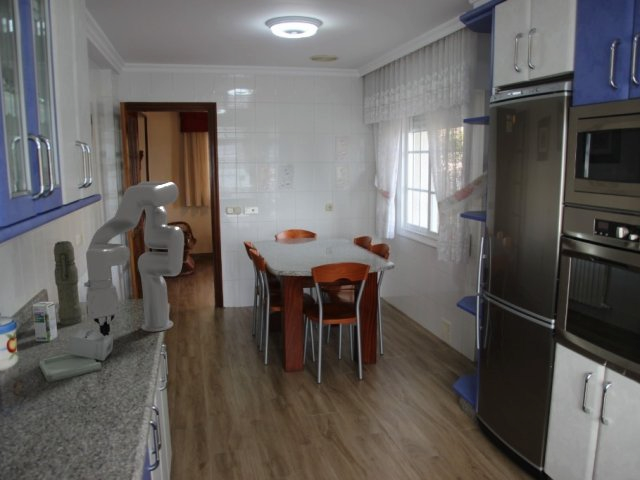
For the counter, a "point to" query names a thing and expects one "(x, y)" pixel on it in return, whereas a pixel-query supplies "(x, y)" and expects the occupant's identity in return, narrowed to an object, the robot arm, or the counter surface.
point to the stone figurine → (67, 284)
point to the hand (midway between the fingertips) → (105, 334)
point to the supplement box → (90, 343)
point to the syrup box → (45, 321)
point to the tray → (67, 366)
